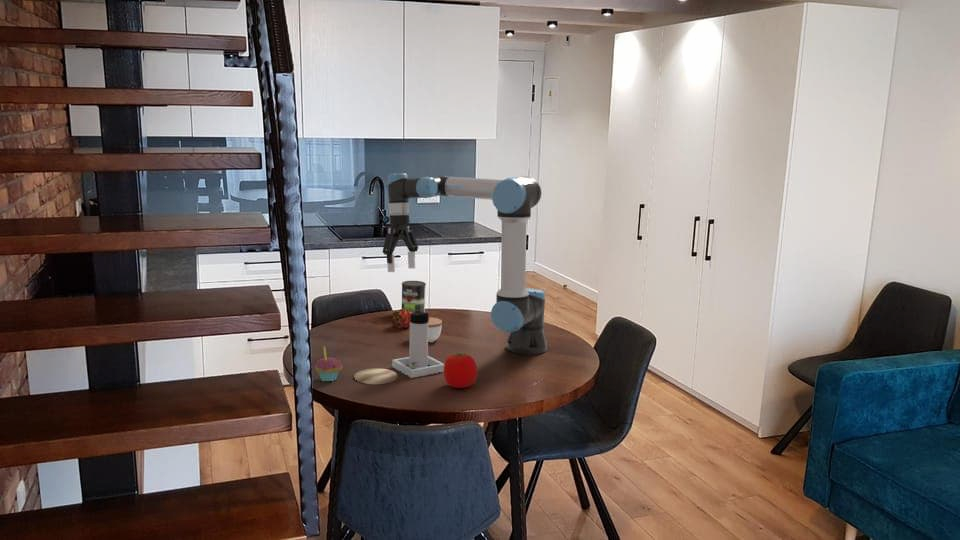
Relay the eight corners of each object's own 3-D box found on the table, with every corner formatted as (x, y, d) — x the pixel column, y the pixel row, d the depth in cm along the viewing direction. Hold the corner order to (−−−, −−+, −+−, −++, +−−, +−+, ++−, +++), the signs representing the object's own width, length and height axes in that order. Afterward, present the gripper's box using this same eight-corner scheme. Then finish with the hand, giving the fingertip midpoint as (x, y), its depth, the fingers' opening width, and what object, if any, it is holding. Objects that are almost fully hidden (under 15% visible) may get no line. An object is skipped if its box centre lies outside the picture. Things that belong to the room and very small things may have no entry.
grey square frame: (424, 360, 260) (424, 354, 259) (444, 371, 249) (445, 364, 249) (392, 366, 252) (392, 359, 252) (411, 378, 242) (411, 370, 241)
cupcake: (328, 385, 232) (328, 349, 230) (309, 380, 236) (308, 344, 234) (347, 378, 239) (347, 343, 237) (328, 373, 244) (327, 338, 241)
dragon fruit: (394, 335, 294) (406, 331, 306) (411, 324, 292) (422, 321, 303) (384, 316, 295) (396, 314, 307) (400, 306, 293) (412, 303, 305)
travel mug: (413, 373, 246) (414, 315, 242) (406, 367, 252) (407, 310, 248) (430, 371, 249) (432, 313, 245) (423, 365, 255) (424, 309, 251)
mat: (405, 375, 244) (405, 373, 244) (380, 387, 232) (380, 385, 232) (371, 367, 251) (371, 365, 251) (345, 378, 239) (345, 377, 239)
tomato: (480, 391, 233) (481, 358, 230) (447, 393, 230) (448, 360, 227) (471, 379, 242) (472, 348, 240) (439, 381, 239) (440, 349, 237)
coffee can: (419, 318, 314) (420, 286, 311) (397, 316, 317) (397, 284, 314) (428, 313, 324) (429, 281, 321) (406, 310, 327) (407, 279, 324)
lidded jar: (440, 345, 279) (441, 321, 277) (412, 343, 279) (412, 319, 277) (442, 336, 289) (443, 313, 287) (415, 335, 289) (415, 312, 287)
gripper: (409, 213, 292) (412, 266, 294) (371, 215, 271) (374, 273, 273) (425, 213, 289) (427, 267, 291) (387, 215, 267) (390, 273, 269)
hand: (401, 270), depth 282 cm, fingers open, 13 cm apart
